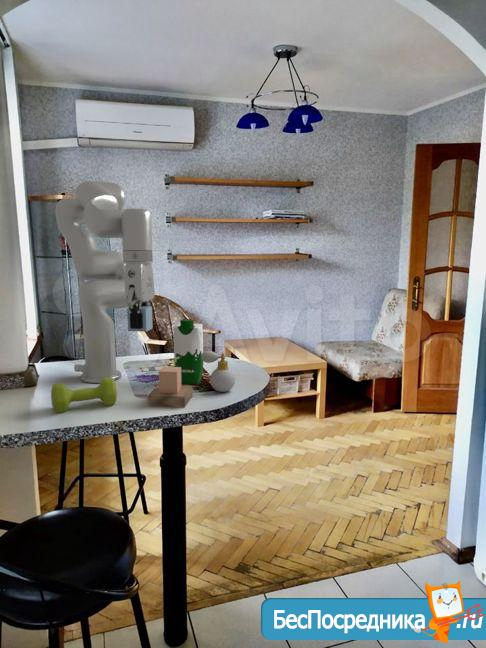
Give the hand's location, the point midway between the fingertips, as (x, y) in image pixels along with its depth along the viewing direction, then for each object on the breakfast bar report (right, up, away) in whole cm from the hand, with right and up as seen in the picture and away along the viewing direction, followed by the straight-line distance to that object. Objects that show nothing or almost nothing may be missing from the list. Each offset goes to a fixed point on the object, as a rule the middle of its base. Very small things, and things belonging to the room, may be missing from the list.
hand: (140, 325), depth 126 cm
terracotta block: (+7, -18, +6) cm, 20 cm away
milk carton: (+10, -18, +25) cm, 32 cm away
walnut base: (+7, -21, +6) cm, 23 cm away
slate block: (0, -1, 0) cm, 1 cm away
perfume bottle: (+20, -20, +15) cm, 32 cm away
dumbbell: (-15, -22, +1) cm, 27 cm away
